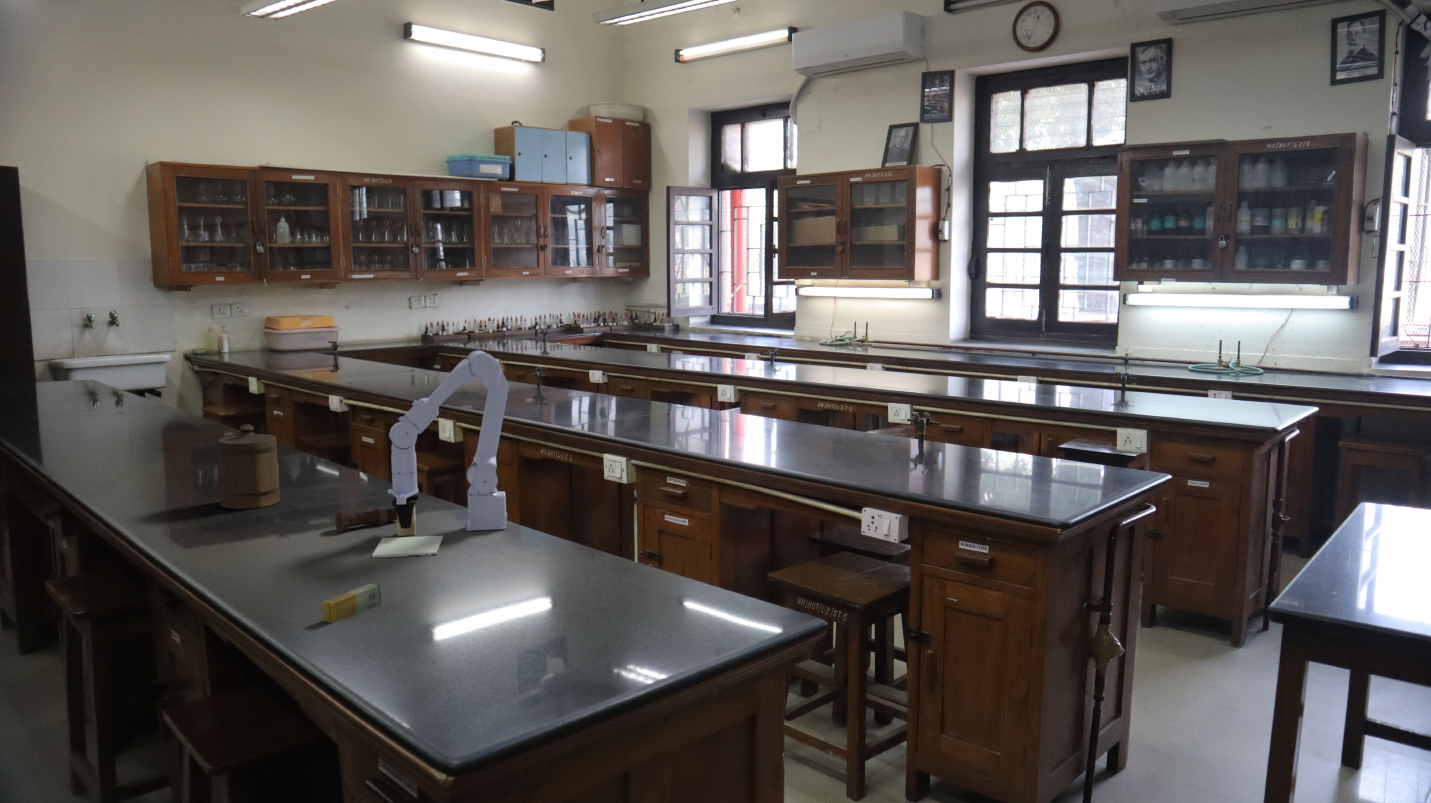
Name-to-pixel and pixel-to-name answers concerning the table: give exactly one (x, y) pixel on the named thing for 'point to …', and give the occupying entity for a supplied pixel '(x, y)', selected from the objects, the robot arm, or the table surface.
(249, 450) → the wooden container
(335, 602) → the medication box
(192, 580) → the table surface
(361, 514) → the bolt
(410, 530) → the slab
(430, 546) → the board
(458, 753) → the table surface
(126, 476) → the table surface
